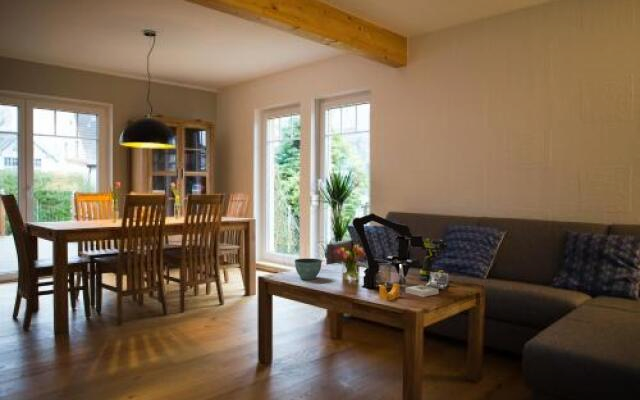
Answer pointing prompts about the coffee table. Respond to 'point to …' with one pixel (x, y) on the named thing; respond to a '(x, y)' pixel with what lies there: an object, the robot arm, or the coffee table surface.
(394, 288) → the pipe clamp
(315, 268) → the flower pot
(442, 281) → the phone holder
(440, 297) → the coffee table surface
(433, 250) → the power drill
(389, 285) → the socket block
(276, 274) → the coffee table surface
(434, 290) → the rack block
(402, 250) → the robot arm
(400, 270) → the steel peg
